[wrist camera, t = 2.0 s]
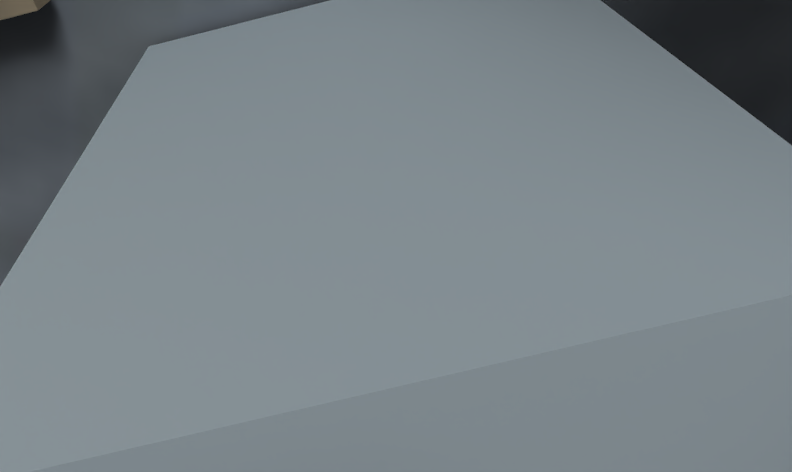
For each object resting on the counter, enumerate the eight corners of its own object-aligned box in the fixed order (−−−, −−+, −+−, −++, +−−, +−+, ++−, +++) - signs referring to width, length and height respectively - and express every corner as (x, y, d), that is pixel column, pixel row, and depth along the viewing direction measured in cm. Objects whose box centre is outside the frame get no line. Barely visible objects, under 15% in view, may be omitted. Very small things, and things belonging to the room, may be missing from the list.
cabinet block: (532, -52, 10) (941, 260, 4) (573, 365, 15) (772, 813, 9) (149, 46, 10) (-139, 509, 4) (313, 425, 15) (315, 907, 9)
